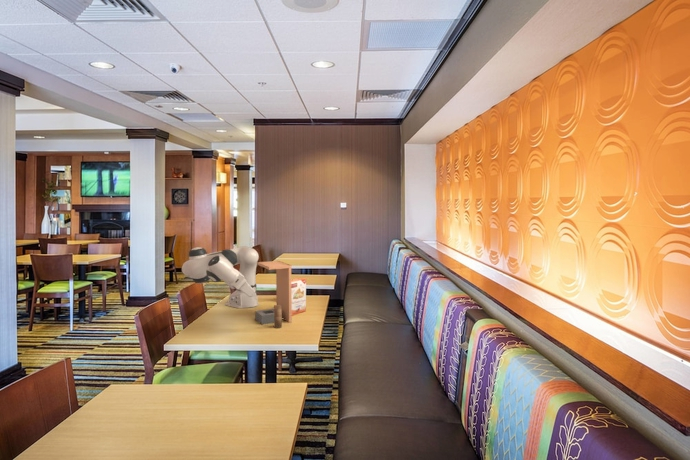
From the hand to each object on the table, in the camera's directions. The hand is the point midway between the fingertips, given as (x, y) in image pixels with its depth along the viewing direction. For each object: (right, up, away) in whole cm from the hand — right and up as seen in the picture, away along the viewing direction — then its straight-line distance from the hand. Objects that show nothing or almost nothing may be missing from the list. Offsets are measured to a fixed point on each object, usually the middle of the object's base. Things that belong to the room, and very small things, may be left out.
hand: (254, 297), depth 222 cm
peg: (+12, -18, +8) cm, 23 cm away
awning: (+7, -17, +22) cm, 29 cm away
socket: (+4, -17, +21) cm, 27 cm away
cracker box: (+18, -16, +37) cm, 44 cm away
